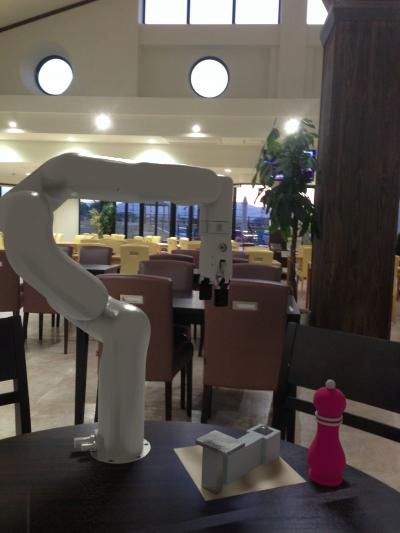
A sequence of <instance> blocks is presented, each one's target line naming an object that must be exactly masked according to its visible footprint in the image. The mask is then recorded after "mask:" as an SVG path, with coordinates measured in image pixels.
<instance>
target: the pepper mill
mask: <svg viewBox="0 0 400 533" xmlns="http://www.w3.org/2000/svg"><path fill="white" fill-rule="evenodd" d="M312 402H313V403H312V405H313V406H314V408H315V409H316V411H315V412H314V415H315V416H314V420H315V422H316V426H317V427H316V433H315V436H314V437H313V440H312V441H311V443H310V445H309V447H308V450H307V453H306V463H307V465H308V467H309V469H308V473H307V475H308V478H309V479H310V480H312V481H313V482H314V483H316V484H319V485H321V486H324V487H325V486H326V487H327V486H328V487H336V486H339V485H341V484H342V483H343V479H344V478H343V475H342V473H344V472H345V470H346V468H347V458H346V453H345V452H344V451H345V450H344V447H343V445H342V444H341V439H340V425H342V424H343V412H344V411H345V410H346V408H347V399H346V395H345V394H344V393H343V392H342V391H341V390H340V389H338V388H336V382H335V380H332V379H327V381H326V382H325V386H322V387H320V388H318V389H317V390H316V391H315V392H314V395H313V399H312ZM339 490H340V488H339V489H334V490H330V491H328V492H329V493H330V492H331V493H332V492H338V491H339Z"/></svg>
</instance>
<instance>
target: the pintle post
mask: <svg viewBox="0 0 400 533" xmlns="http://www.w3.org/2000/svg"><path fill="white" fill-rule="evenodd" d="M264 425H265V424H263V425H262V426H260V432H259V433H260V434H262V435H265V436H266V435H268V431H269V427H270V426H268V425H266V426H264Z"/></svg>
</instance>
